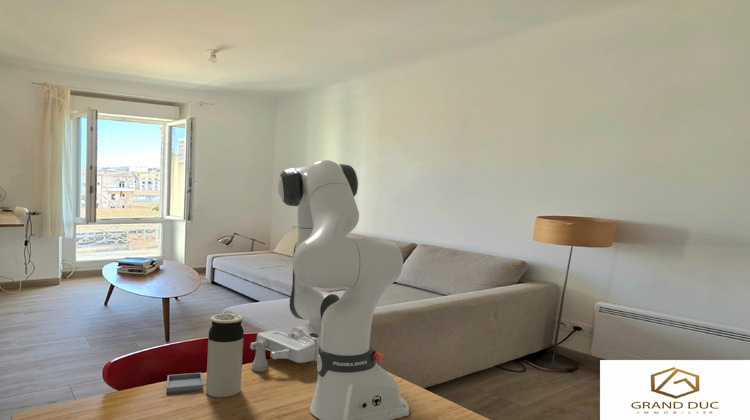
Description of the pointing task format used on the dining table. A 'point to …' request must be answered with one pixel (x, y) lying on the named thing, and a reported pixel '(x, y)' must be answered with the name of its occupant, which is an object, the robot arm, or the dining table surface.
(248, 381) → the dining table surface
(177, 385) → the tray
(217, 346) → the travel mug
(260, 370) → the rook chess piece
